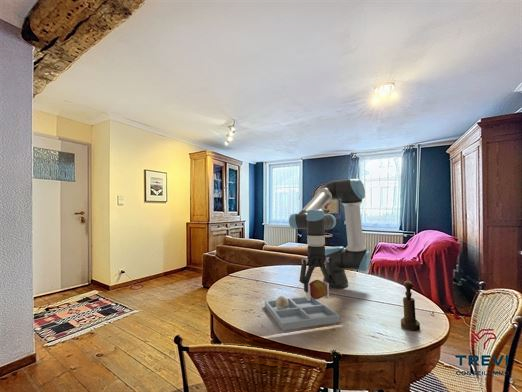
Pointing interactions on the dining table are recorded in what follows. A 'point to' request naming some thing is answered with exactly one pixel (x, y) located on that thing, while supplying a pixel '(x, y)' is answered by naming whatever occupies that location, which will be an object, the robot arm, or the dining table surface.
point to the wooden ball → (282, 303)
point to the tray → (302, 313)
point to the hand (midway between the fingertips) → (317, 298)
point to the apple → (317, 289)
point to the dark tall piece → (409, 310)
